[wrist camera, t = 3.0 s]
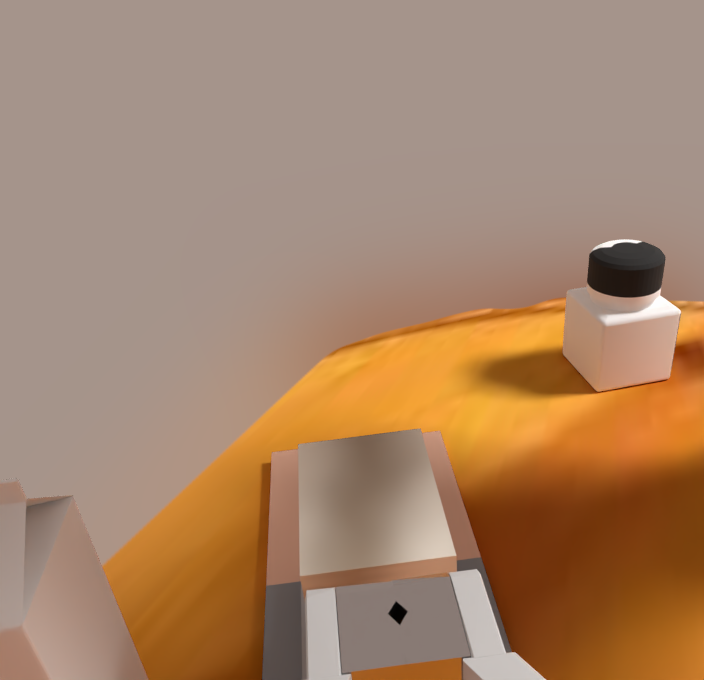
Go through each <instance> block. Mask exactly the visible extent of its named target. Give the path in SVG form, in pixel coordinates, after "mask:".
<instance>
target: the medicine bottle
mask: <svg viewBox="0 0 704 680" xmlns="http://www.w3.org/2000/svg"><path fill="white" fill-rule="evenodd" d="M664 265H665V255H664V254H663V252H662V251H661V250H660V249H659V248H657V247H655V246H653V245H650V244H648V243H645V242H642V241H636V240H614V241H610V242H606V243H602V244H600V245H598V246H596V247H595V248H594V249H593V250H592V251H591V252H590V255H589V267H588V278H587V287H583V288H578V289H571V290H569V291H567V296H566V310H565V324H564V338H563V355H564V356H565V357H566V358H567V359H568V361H569V362H570V363H571V364H572V365H573V366H574V367H575V368H576V369H577V371H578V372H579V373H580V374H581V375H582V376H583V377H584V378H585V379H586V381H587V382H588V383H589V384H590V385H591V386H592V387H593V388H594V389H595V390H596V391H597V392H601V391H606V390H612V389H617V388H623V387H628V386H634V385H639V384H645V383H650V382H655V381H661V380H666V379H669V377H670V374H671V368H672V362H673V357H674V351H675V345H676V339H677V333H678V327H679V321H680V315H681V311H680V310H679V309H678V308H677V307H675V306H674V305H673V304H671V303H670V302H668V301H667V300H666V299H664V298H663V297H661V296H660V292H661V285H662V278H663V272H664Z"/></svg>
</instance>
